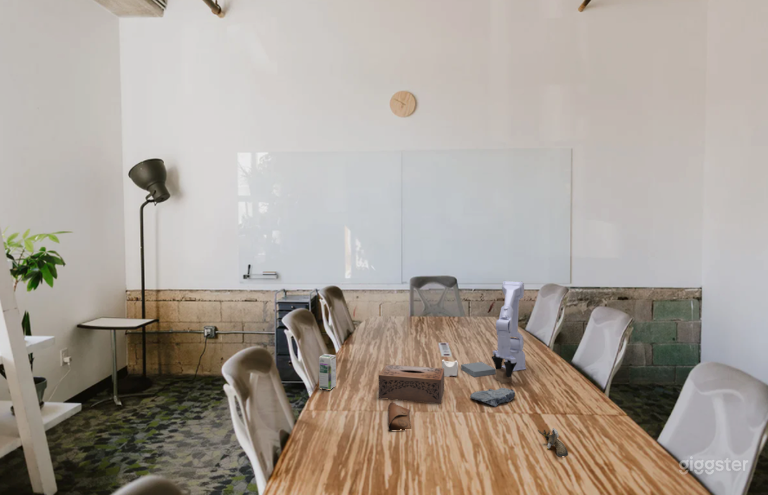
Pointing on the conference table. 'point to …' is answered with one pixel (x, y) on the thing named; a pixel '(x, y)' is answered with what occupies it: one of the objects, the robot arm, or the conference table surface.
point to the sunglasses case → (398, 417)
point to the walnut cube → (502, 376)
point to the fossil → (494, 396)
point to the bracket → (450, 368)
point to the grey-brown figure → (555, 442)
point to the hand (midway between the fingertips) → (503, 374)
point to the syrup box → (327, 371)
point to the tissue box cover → (412, 383)
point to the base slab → (478, 369)
